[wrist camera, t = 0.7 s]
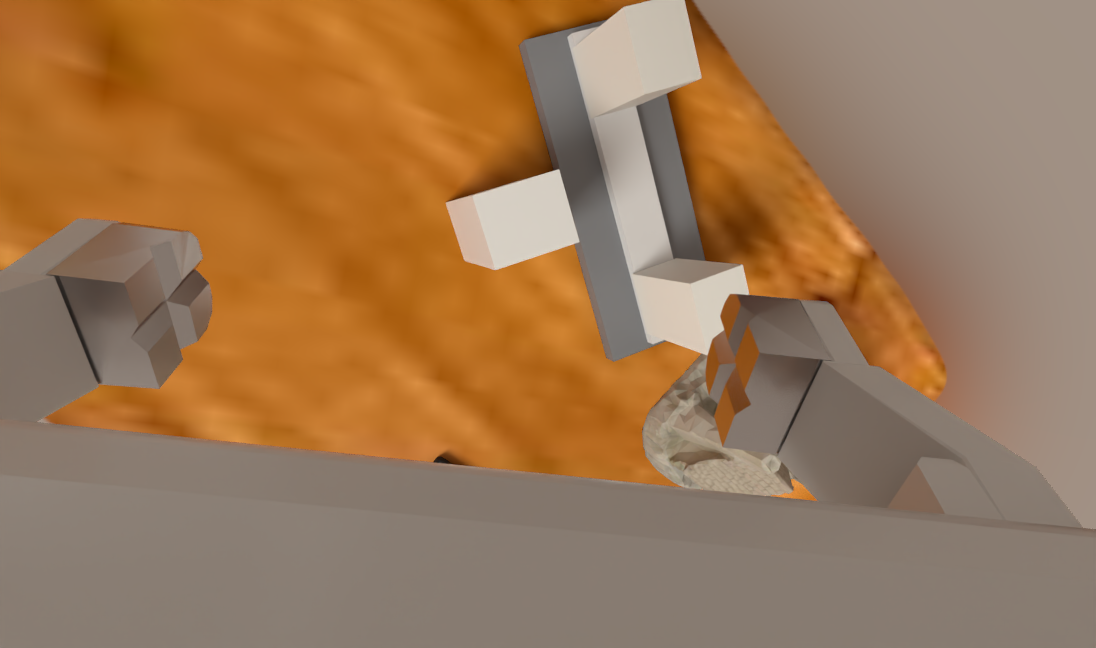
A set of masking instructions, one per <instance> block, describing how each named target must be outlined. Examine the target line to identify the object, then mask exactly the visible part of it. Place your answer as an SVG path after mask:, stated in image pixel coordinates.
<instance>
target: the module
mask: <svg viewBox="0 0 1096 648" xmlns="http://www.w3.org/2000/svg"><path fill="white" fill-rule="evenodd" d="M446 205H447V208H448V211H449V215H450V218H451V221H452V224H453V227H454V230H455V233H456V236H457V239H458V242H459V245H460V248H461V251H462V255H463V258H464V261H467V262H470V263H474V264H477V265H480V266H484V267H487V268H490V269H493V270H497V269H500V268H503V267H506V266H509V265H512V264H515V263H518V262H521V261H524V260H527V259H530V258H533V257H536V256H539V255H542V254H545V253H548V252H551V251H554V250H557V249H560V248H563V247H566V246H569V245H572V244H575V243H578V242H579V238H578V234H577V231H576V227H575V224H574V220H573V217H572V213H571V209H570V206H569V202H568V199H567V195H566V191H565V188H564V184H563V181H562V177H561V174H560V170H559V169H558V170H555V171H551V172H548V173H544V174H540V175H537V176H533V177H530V178H526V179H523V180H519V181H516V182H512V183H509V184H506V185H502V186H499V187H496V188H492V189H489V190H486V191H482V192H479V193H476V194H472V195H469V196H466V197H462V198H459V199H456V200H453V201H449V202H446Z"/></svg>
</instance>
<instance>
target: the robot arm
mask: <svg viewBox="0 0 1096 648" xmlns="http://www.w3.org/2000/svg"><path fill="white" fill-rule="evenodd" d="M202 259H203V256H202V253H201V249H200V246H199V242H198V239H197V238H196V237H195V236H194V235H193V234H192V233H191V232H189V231H184V230H177V229H169V228H162V227H154V226H147V225H139V224H131V223H120V222H118V221H110V220H99V219H77V220H75V221H74V222H72V223H71V224H70V225H68V226H67V227H65V228H64V229H62V230H61V231H59V232H58V233H56V234H55V235H54V236H52V237H51V238H49V239H48V240H46V241H45V242H43V243H42V244H40V245H39V246H38V247H36V248H35V249H33V250H32V251H30V252H29V253H27V254H26V255H24V256H23V257H22V258H20V259H19V260H17V261H16V262H14V263H13V264H11V265H10V266H9V267H7V268H6V269H4V270H0V648H1096V529H1087V528H1083V527H1082V526H1081V524H1080V523H1079V522H1078V520H1077V519H1076V518H1075V516H1074V515H1073V514H1072V513H1071V511H1070V510H1069V509H1068V507H1067V506H1066V505H1065V504H1064V502H1063V501H1062V500H1061V499H1060V497H1059V496H1058V494H1057V493H1056V492H1055V491H1054V489H1053V488H1052V487H1051V485H1050V484H1049V483H1048V482H1047V480H1045V478H1044V477H1043V475H1042V474H1041V473H1040V472H1039V470H1038V469H1037V468H1036V467H1035V466H1034V465H1032V464H1031V463H1029V462H1027V461H1026V460H1024V459H1023V458H1021V457H1020V456H1018V455H1016V454H1015V453H1013V452H1012V451H1010V450H1009V449H1007V448H1006V447H1004V446H1003V445H1001V444H999V443H998V442H996V441H995V440H993V439H992V438H990V437H989V436H987V435H985V434H984V433H982V432H981V431H979V430H977V429H976V428H974V427H973V426H971V425H970V424H968V423H967V422H965V421H963V420H962V419H960V418H959V417H957V416H956V415H954V414H953V413H951V412H949V411H948V410H946V409H945V408H943V407H941V406H940V405H938V404H937V403H935V402H934V401H932V400H931V399H929V398H928V397H926V396H924V395H923V394H921V393H920V392H918V391H917V390H915V389H913V388H912V387H910V386H909V385H907V384H906V383H904V382H903V381H901V380H899V379H898V378H896V377H895V376H893V375H892V374H890V373H888V372H887V371H885V370H884V369H882V368H881V367H877V366H869V364H868V363H867V361H866V359H865V358H864V356H863V355H862V353H861V351H860V350H859V348H858V346H857V345H856V343H855V341H854V340H853V338H852V336H851V335H850V333H849V331H848V330H847V328H846V327H845V325H844V323H843V322H842V320H841V318H840V317H839V315H838V313H837V312H836V310H835V308H834V307H833V305H831V304H829V303H828V302H826V301H812V300H799V299H788V298H777V297H766V296H754V295H743V294H730V295H729V296H728V298H727V300H726V301H725V303H724V306H723V309H722V312H721V315H720V318H721V321H722V324H723V327H724V330H723V331H722V332H721V333H719V334H718V335H717V336H716V337H714V338H713V339H712V342H711V345H710V349H709V352H708V355H707V363H706V372H705V373H706V386H707V390H708V394H709V396H710V397H711V398H712V399H713V400H714V401H715V402H716V403H717V404H718V406H717V409H716V412H715V415H714V417H715V421H716V425H717V429H718V432H719V436H720V440H721V443H722V447H723V448H731V449H739V450H746V451H754V452H762V453H769V454H777V455H778V456H777V457H778V458H779V459H780V460H781V461H782V463H783V464H784V465H785V466H786V467H787V468H788V469H789V470H790V471H791V472H792V473H793V474H794V476H795V477H796V478H797V479H798V480H799V481H800V482H801V483H802V484H803V485H804V486H805V487H806V488H807V490H808V491H809V492H810V493H811V494H812V495H813V496H814V497H815V498H816V499H817V500H818V501H810V500H801V499H791V498H781V497H771V496H761V495H751V494H741V493H731V492H721V491H712V490H702V489H692V488H682V487H672V486H662V485H652V484H642V483H632V482H622V481H612V480H603V479H593V478H583V477H573V476H563V475H553V474H543V473H533V472H523V471H513V470H503V469H493V468H484V467H474V466H464V465H454V464H444V463H434V462H424V461H414V460H405V459H395V458H385V457H375V456H365V455H355V454H345V453H336V452H326V451H316V450H306V449H296V448H286V447H276V446H267V445H257V444H247V443H237V442H227V441H217V440H207V439H197V438H188V437H178V436H168V435H158V434H148V433H138V432H128V431H119V430H109V429H99V428H89V427H79V426H69V425H59V424H49V423H39V422H37V421H39V420H41V419H42V418H44V417H46V416H48V415H50V414H51V413H53V412H55V411H57V410H58V409H60V408H62V407H64V406H66V405H67V404H69V403H71V402H73V401H74V400H76V399H78V398H80V397H81V396H83V395H85V394H87V393H89V392H90V391H92V390H94V389H96V388H97V387H98V386H99V385H98V384H104V385H117V386H130V387H142V388H155V389H160V387H161V386H162V385H163V384H164V382H165V381H166V380H167V379H168V377H169V376H170V375H171V374H172V373H173V371H174V370H175V369H176V368H177V366H178V365H179V364H180V363H181V361H182V360H183V358H182V355H181V351H180V349H182V348H184V347H186V346H188V345H190V344H193V343H195V342H197V341H198V340H199V339H200V337H201V336H202V335H203V333H204V332H205V331H206V329H207V327H208V324H209V320H210V317H211V314H212V295H211V290H210V286H209V283H208V282H207V281H206V280H205V279H204V278H203V277H202V275H201V274H200V273H199V272H198V271H197V270H196V268H197V267H198V265H199V264H200V262H201V260H202Z"/></svg>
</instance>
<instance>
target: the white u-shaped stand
mask: <svg viewBox="0 0 1096 648" xmlns="http://www.w3.org/2000/svg"><path fill="white" fill-rule="evenodd" d="M519 48H520V52H521V55H522V59H523V62H524V66H525V69H526V73H527V77H528V80H529V84H530V87H531V91H532V94H533V98H534V101H535V105H536V109H537V112H538V116H539V119H540V123H541V126H542V130H543V133H544V137H545V141H546V144H547V148H548V151H549V155H550V158H551V162H552V165H553V169H554V171H555V170H558V169H559V170H560V174H561V177H562V181H563V184H564V188H565V191H566V195H567V199H568V202H569V206H570V209H571V213H572V217H573V220H574V224H575V227H576V231H577V234H578V238H579V242H578V243H575V247H576V251H577V254H578V258H579V261H580V265H581V268H582V272H583V276H584V279H585V283H586V286H587V290H588V293H589V297H590V300H591V304H592V308H593V311H594V315H595V318H596V322H597V325H598V329H599V332H600V336H601V340H602V343H603V347H604V350H605V354H606V357H607V358H608V359H610V360H612V361H616V360H619V359H622V358H624V357H627V356H629V355H632V354H634V353H637V352H640V351H642V350H645V349H647V348H650V347H652V346H655V345H658V344H660V343H663V342H665V341H669V342H672V343H674V344H677V345H680V346H683V347H685V348H688V349H691V350H694V351H697V352H699V353H702V354H705V355H708V352H709V349H710V345H711V342H712V339H713V338H714V337H716V336H717V335H718V334H719V333H721V332H722V331H723V330H724V327H723V324H722V321H721V318H720V315H721V312H722V309H723V306H724V303H725V301H726V300H727V298H728V296H729V295H730V294H743V295H749V291H748V287H747V282H746V278H745V273H744V269H743V265H742V264H731V263H721V262H710V261H705V257H704V252H703V248H702V244H701V239H700V235H699V231H698V227H697V222H696V218H695V214H694V209H693V205H692V201H691V197H690V192H689V188H688V184H687V179H686V175H685V171H684V167H683V162H682V158H681V154H680V149H679V145H678V141H677V137H676V132H675V128H674V124H673V119H672V115H671V111H670V107H669V102H668V98H667V94H666V93H668V92H671V91H673V90H675V89H678V88H680V87H683V86H685V85H687V84H690V83H692V82H694V81H697V80H699V79H701V78H702V77H701V73H700V68H699V63H698V59H697V54H696V50H695V45H694V41H693V36H692V32H691V27H690V22H689V18H688V13H687V9H686V4H685V0H651V1H646V2H642V3H638V4H634V5H630V6H626V7H623V8H622V9H620V10H619V11H618V12H617V13H616V14H614V15H613V16H612V17H611V18H609V19H608V20H604V21H600V22H596V23H592V24H588V25H584V26H580V27H576V28H572V29H568V30H563V31H559V32H555V33H551V34H547V35H543V36H539V37H535V38H531V39H527V40H524V41H523V42H522V43H521V44H520V45H519Z"/></svg>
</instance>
